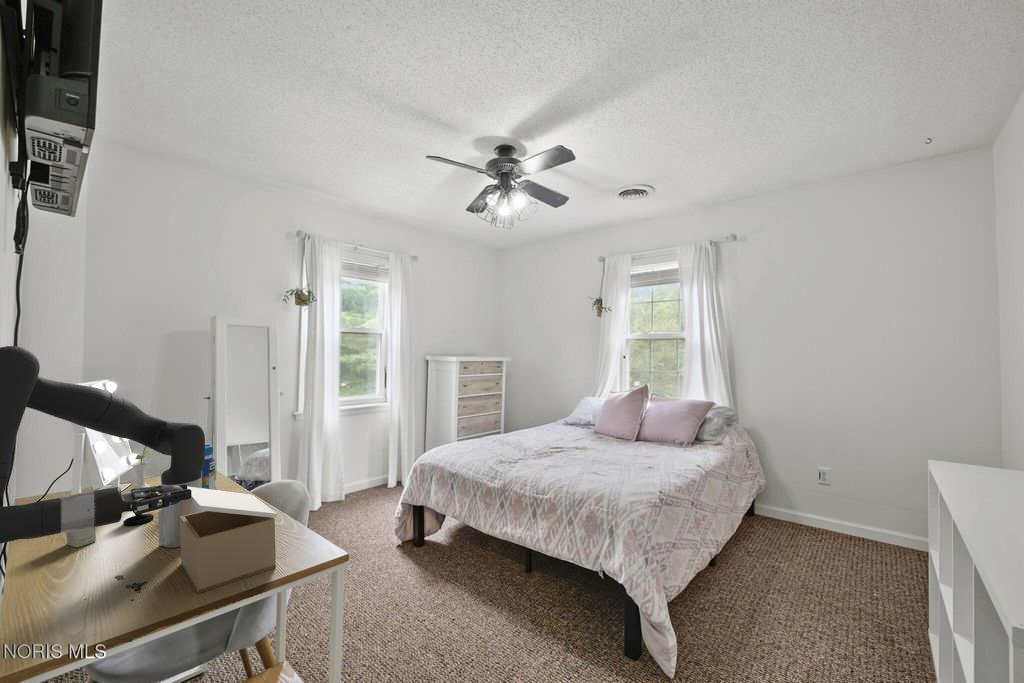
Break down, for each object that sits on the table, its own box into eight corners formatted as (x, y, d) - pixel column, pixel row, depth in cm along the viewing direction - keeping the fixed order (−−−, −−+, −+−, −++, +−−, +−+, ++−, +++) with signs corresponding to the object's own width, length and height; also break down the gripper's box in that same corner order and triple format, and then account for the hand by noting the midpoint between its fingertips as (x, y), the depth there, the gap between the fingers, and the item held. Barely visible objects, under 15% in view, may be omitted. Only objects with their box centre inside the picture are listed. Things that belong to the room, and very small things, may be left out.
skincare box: (96, 541, 130) (95, 498, 130) (77, 548, 126) (75, 504, 126) (85, 538, 133) (83, 496, 133) (65, 544, 129) (64, 501, 129)
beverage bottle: (182, 506, 158) (181, 448, 158) (208, 498, 165) (207, 442, 165) (196, 510, 154) (195, 450, 154) (222, 501, 161) (220, 445, 161)
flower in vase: (144, 507, 157) (142, 434, 157) (111, 508, 157) (109, 435, 157) (173, 494, 170) (171, 427, 170) (142, 495, 170) (140, 428, 170)
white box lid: (164, 515, 97) (173, 494, 98) (150, 493, 112) (158, 475, 113) (273, 525, 112) (279, 506, 113) (248, 504, 127) (254, 488, 128)
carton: (198, 593, 101) (196, 539, 101) (181, 563, 116) (179, 516, 116) (275, 567, 113) (274, 518, 113) (251, 543, 127) (250, 499, 127)
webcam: (156, 521, 145) (155, 489, 145) (125, 528, 139) (124, 496, 139) (150, 515, 150) (150, 484, 150) (121, 522, 144) (120, 490, 144)
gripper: (93, 499, 92) (195, 481, 104) (89, 484, 102) (183, 469, 114) (93, 537, 92) (195, 514, 104) (89, 518, 102) (183, 499, 114)
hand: (188, 491), depth 109 cm, fingers closed on white box lid, 4 cm apart
